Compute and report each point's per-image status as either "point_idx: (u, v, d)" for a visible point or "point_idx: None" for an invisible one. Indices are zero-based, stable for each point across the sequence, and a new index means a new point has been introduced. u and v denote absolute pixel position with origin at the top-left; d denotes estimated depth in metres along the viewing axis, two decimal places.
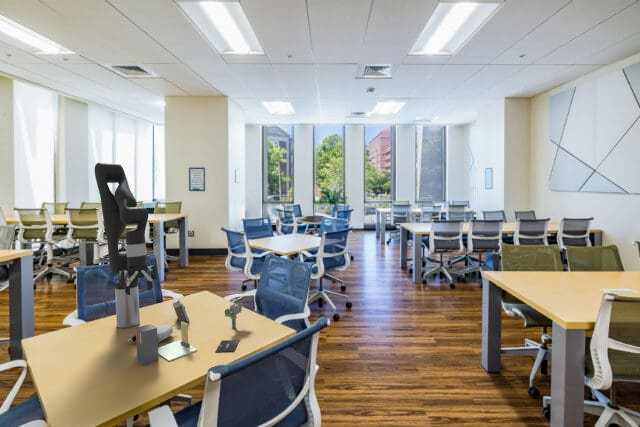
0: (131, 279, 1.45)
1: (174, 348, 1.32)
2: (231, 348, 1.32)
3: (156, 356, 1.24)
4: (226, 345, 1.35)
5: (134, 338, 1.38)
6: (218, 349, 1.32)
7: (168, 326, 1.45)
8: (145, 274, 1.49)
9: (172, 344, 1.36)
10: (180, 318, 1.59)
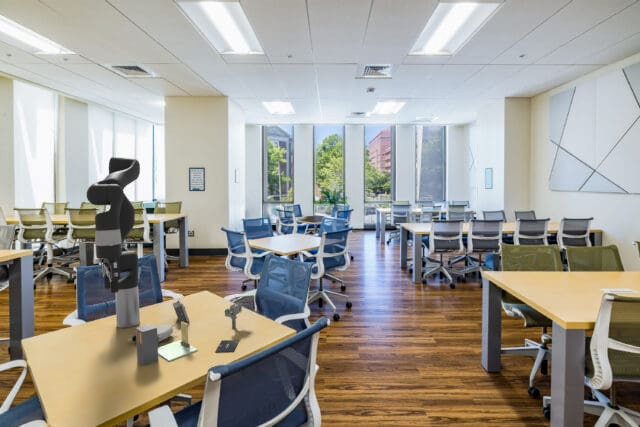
0: None
1: (174, 348, 1.32)
2: (231, 348, 1.32)
3: (156, 356, 1.24)
4: (226, 345, 1.35)
5: (134, 338, 1.38)
6: (217, 349, 1.32)
7: (168, 326, 1.45)
8: None
9: (172, 344, 1.36)
10: (180, 318, 1.59)
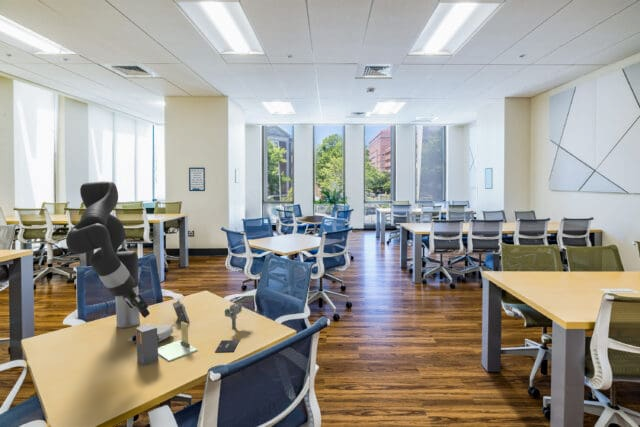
0: None
1: (174, 348, 1.32)
2: (231, 348, 1.32)
3: (156, 356, 1.24)
4: (226, 345, 1.35)
5: (134, 338, 1.38)
6: (217, 349, 1.32)
7: (168, 326, 1.45)
8: None
9: (172, 344, 1.36)
10: (180, 318, 1.59)
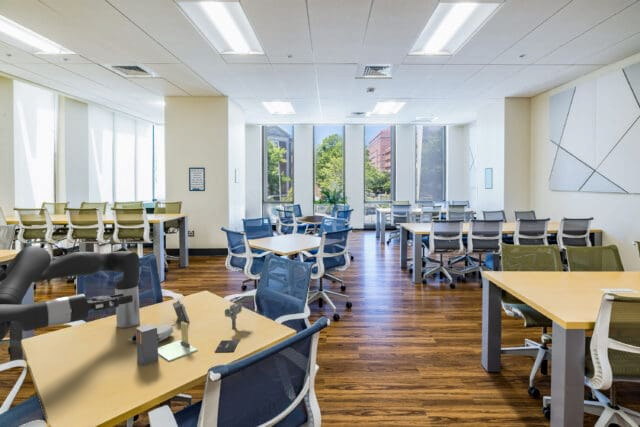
0: (107, 297, 1.06)
1: (174, 348, 1.32)
2: (230, 348, 1.32)
3: (156, 356, 1.24)
4: (225, 345, 1.35)
5: (134, 338, 1.38)
6: (217, 349, 1.32)
7: (168, 326, 1.45)
8: None
9: (172, 344, 1.36)
10: (180, 318, 1.59)
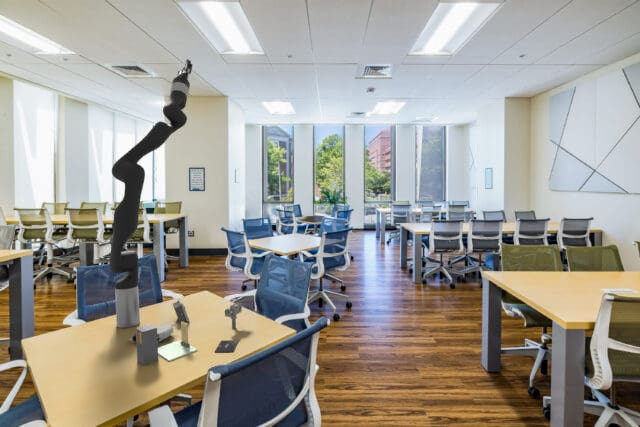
0: (182, 68, 1.62)
1: (174, 348, 1.32)
2: (230, 348, 1.32)
3: (156, 356, 1.24)
4: (225, 345, 1.35)
5: (135, 338, 1.38)
6: (217, 349, 1.32)
7: (168, 325, 1.45)
8: None
9: (172, 344, 1.36)
10: (180, 318, 1.59)
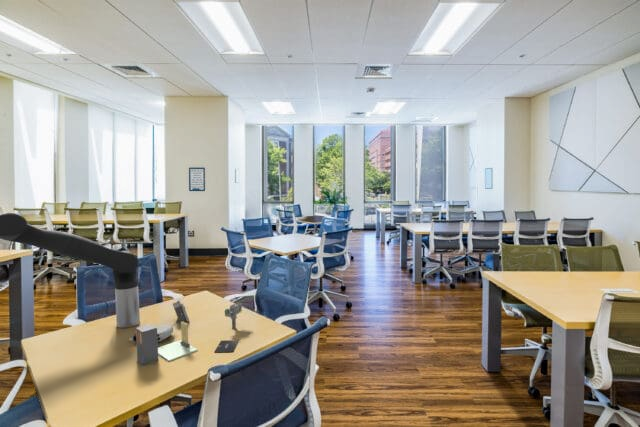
0: None
1: (174, 348, 1.32)
2: (230, 348, 1.32)
3: (156, 356, 1.24)
4: (225, 345, 1.35)
5: (135, 338, 1.38)
6: (217, 349, 1.32)
7: (169, 325, 1.45)
8: None
9: (172, 344, 1.36)
10: (180, 318, 1.59)
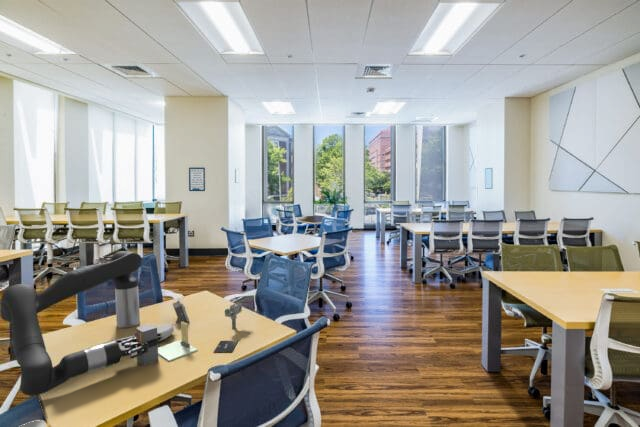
0: None
1: (174, 348, 1.32)
2: (229, 349, 1.32)
3: (156, 356, 1.24)
4: (224, 346, 1.35)
5: None
6: (216, 349, 1.32)
7: (169, 325, 1.46)
8: None
9: (172, 344, 1.36)
10: (180, 318, 1.59)
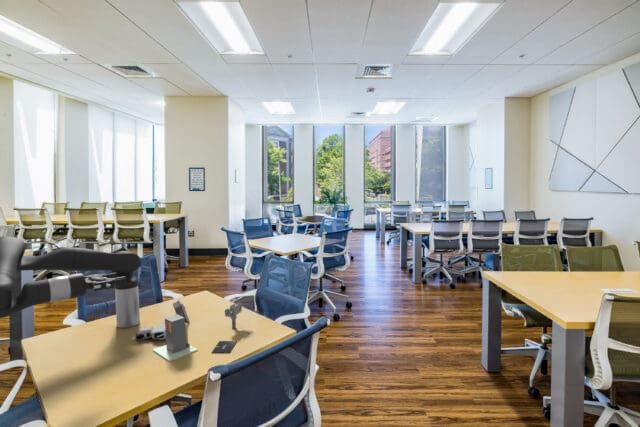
0: None
1: None
2: (227, 349, 1.32)
3: (184, 344, 1.32)
4: (223, 346, 1.34)
5: (138, 337, 1.39)
6: (214, 349, 1.31)
7: None
8: None
9: None
10: None
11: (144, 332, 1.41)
